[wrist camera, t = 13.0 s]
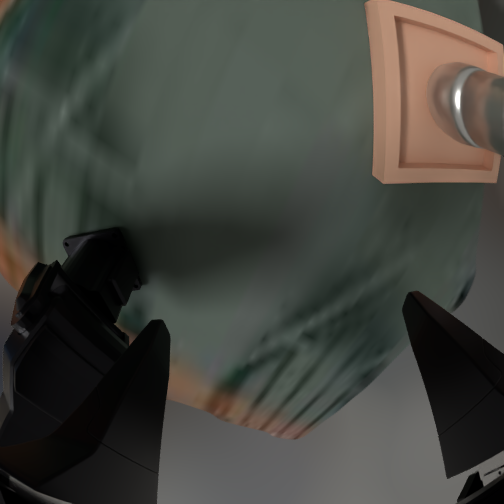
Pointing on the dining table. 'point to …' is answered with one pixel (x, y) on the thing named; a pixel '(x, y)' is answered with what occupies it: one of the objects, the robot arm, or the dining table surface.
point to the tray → (422, 95)
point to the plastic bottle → (468, 105)
